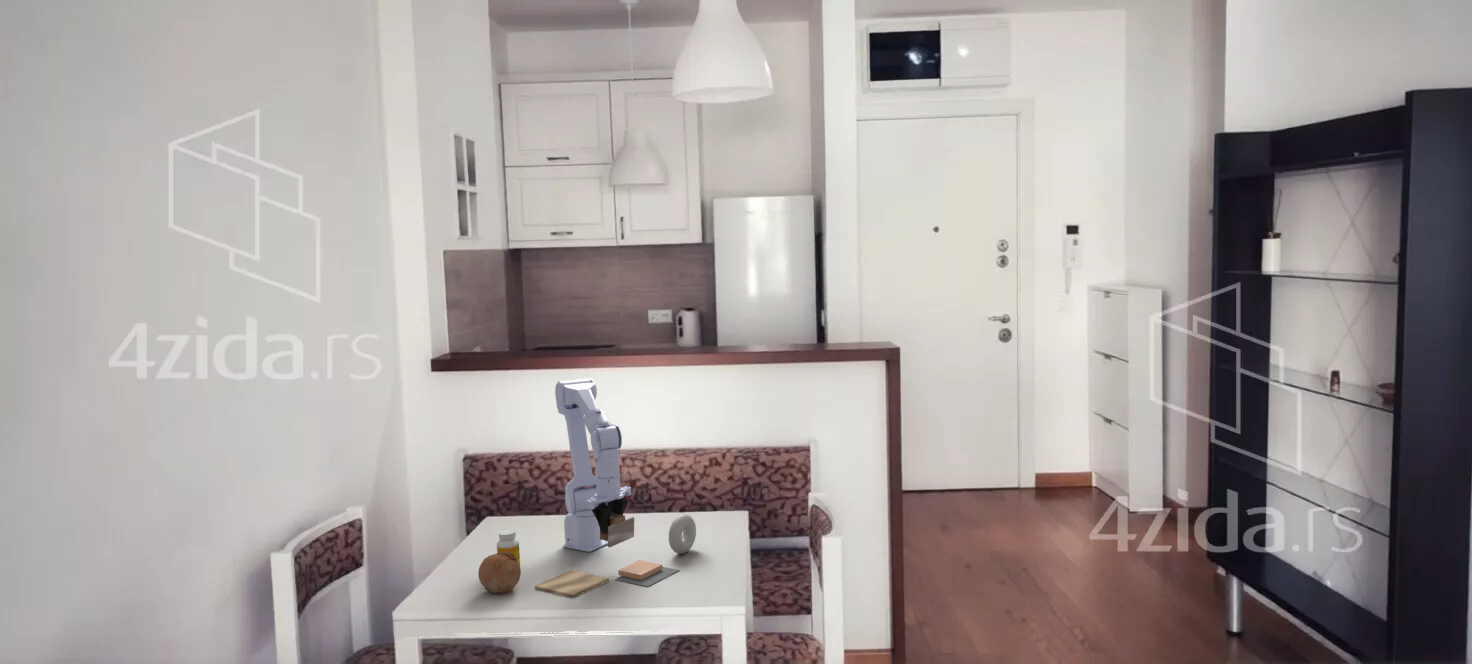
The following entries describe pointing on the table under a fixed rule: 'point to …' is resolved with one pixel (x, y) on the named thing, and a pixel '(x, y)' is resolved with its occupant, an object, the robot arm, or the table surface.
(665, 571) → the slate mat
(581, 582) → the oak board
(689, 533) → the donut
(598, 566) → the table surface
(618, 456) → the robot arm
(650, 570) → the tile
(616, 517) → the brown grey t-shaped block
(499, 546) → the supplement bottle
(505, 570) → the onion
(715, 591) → the table surface
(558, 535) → the table surface
